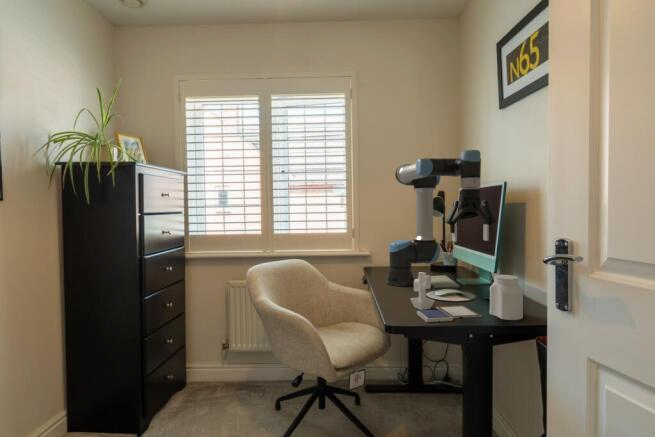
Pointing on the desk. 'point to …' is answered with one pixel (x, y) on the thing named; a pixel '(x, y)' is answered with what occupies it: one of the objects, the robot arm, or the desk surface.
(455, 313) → the card sheet
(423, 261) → the robot arm
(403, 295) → the desk surface
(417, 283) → the figurine
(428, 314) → the ink pad
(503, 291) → the jar
